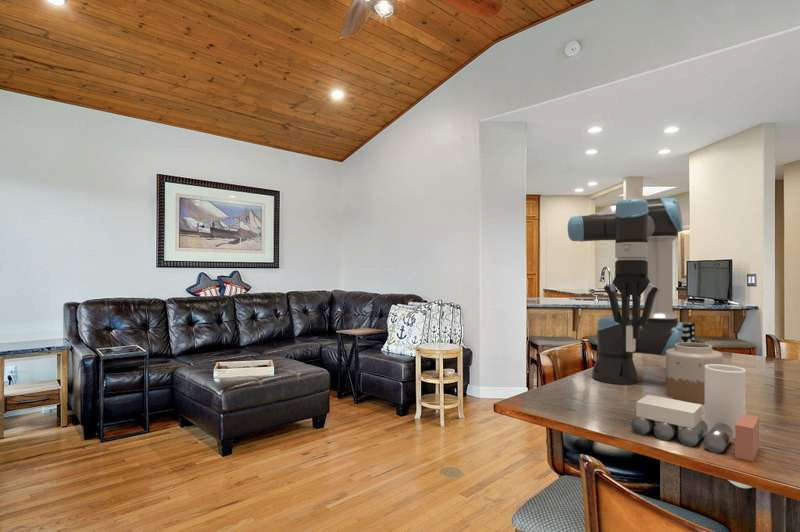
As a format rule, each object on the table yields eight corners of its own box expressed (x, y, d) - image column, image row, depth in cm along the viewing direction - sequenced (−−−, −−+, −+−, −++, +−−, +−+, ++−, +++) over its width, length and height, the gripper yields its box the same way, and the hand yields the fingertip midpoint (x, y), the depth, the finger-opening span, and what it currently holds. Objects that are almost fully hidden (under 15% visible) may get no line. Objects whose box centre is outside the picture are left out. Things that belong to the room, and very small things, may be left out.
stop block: (735, 457, 96) (735, 424, 96) (742, 444, 103) (742, 414, 103) (752, 461, 94) (752, 428, 94) (759, 448, 101) (759, 417, 101)
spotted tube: (686, 379, 164) (686, 324, 164) (664, 374, 171) (664, 322, 172) (699, 377, 168) (699, 323, 168) (677, 372, 175) (677, 321, 175)
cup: (696, 426, 115) (696, 364, 115) (726, 426, 115) (726, 363, 115) (722, 439, 106) (722, 371, 107) (754, 438, 107) (754, 371, 107)
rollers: (631, 432, 110) (631, 416, 111) (643, 422, 118) (643, 407, 118) (725, 455, 97) (725, 436, 97) (733, 442, 104) (733, 425, 104)
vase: (729, 396, 141) (727, 343, 141) (719, 408, 130) (717, 351, 130) (673, 388, 152) (671, 339, 152) (660, 399, 141) (658, 346, 141)
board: (636, 416, 110) (636, 402, 110) (647, 408, 117) (647, 394, 117) (693, 428, 102) (693, 413, 102) (702, 419, 108) (702, 404, 108)
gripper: (599, 259, 118) (599, 349, 117) (655, 258, 109) (655, 356, 108) (609, 260, 123) (609, 346, 123) (663, 259, 114) (663, 352, 114)
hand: (630, 351), depth 116 cm, fingers closed
